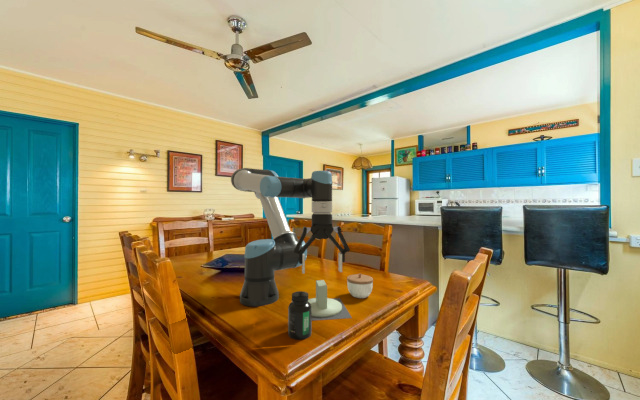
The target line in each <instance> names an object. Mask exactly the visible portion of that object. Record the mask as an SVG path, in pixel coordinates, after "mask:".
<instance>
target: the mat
mask: <svg viewBox="0 0 640 400" xmlns="http://www.w3.org/2000/svg"><path fill="white" fill-rule="evenodd" d="M333 299H334V300H337V301H339V302H340V303H341V304H342V311H341V312H340V313H339V314H338V315H335V316H332V317H325V318H318V317H312V321H327V320H329V321H330V320H342V319H353V318H352V316H351V314H350V312H349V310H348V309H347V307H346V306H345V304H344V303H343V301H342V299H341V298H340V297H338V298H337V297H336V298H333Z"/></svg>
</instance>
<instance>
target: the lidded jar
mask: <svg viewBox="0 0 640 400" xmlns="http://www.w3.org/2000/svg"><path fill="white" fill-rule="evenodd" d="M346 283H347V289H348V292H349V294H350V295H351V297H354V298H357V299H365V298H368V297H369V296H370V295H371V293H372V291H373V286H374V284H373V283H374V278H373V277H372V276H370V275H366V274H362V273H358V274H357V273H356V274H350V275H348V276H347V277H346Z"/></svg>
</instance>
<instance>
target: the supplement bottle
mask: <svg viewBox="0 0 640 400" xmlns="http://www.w3.org/2000/svg"><path fill="white" fill-rule="evenodd" d="M309 299H310V298H309V292H307V291H301V290H299V291H298V290H297V291H293V292H292V294H291V302H290V303H289V305H288V309H287V311H288V313H287V315H288V316H287V320H288V321H287V326H288V327H287V331H288V332H287V333H288V337H289V338H290V339H293V340H296V341H297V340H298V341H302V340H306V339H309V338H310V337H311V336H312V330H313V328H312V325H313V324H312V306H311V304H310V303H309V302H308V300H309Z"/></svg>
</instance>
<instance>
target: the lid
mask: <svg viewBox="0 0 640 400" xmlns="http://www.w3.org/2000/svg"><path fill="white" fill-rule="evenodd" d="M308 302H309V303H310V304H311V306H312V317H318V318H325V317H332V316H335V315H338V314H339V313H340V312H341V311H342V304H341V303H340V302H339V301H337V300H334V298H329V297H328V285H327V283H326V282H325V280H324V279H320V280H315V297H313V298H309V300H308Z"/></svg>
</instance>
